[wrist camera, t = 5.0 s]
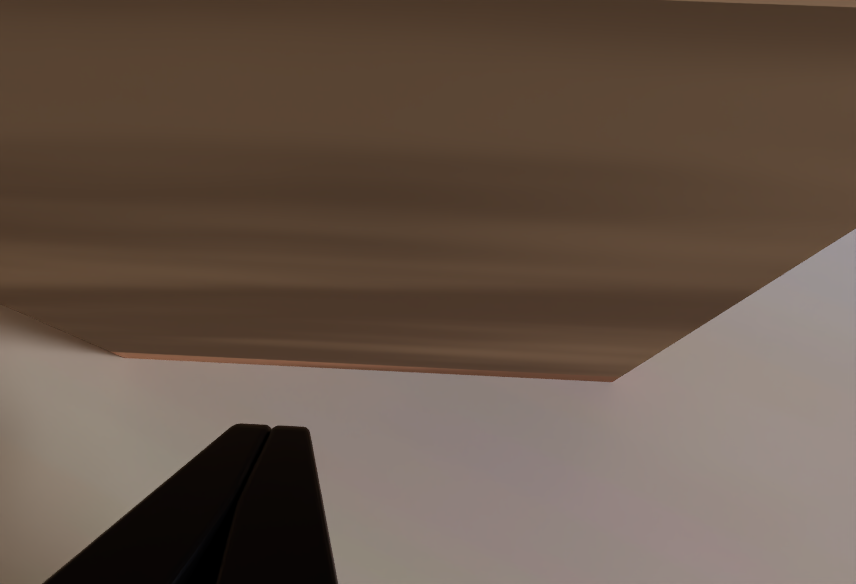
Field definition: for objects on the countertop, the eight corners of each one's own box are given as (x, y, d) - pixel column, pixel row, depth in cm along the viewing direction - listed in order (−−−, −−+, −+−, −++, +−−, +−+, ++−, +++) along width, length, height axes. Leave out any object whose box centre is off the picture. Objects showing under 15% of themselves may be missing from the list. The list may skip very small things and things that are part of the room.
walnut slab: (612, 382, 18) (1185, 19, 4) (124, 357, 18) (-824, -55, 4) (609, 264, 18) (1086, -360, 5) (143, 243, 19) (-612, -403, 5)
